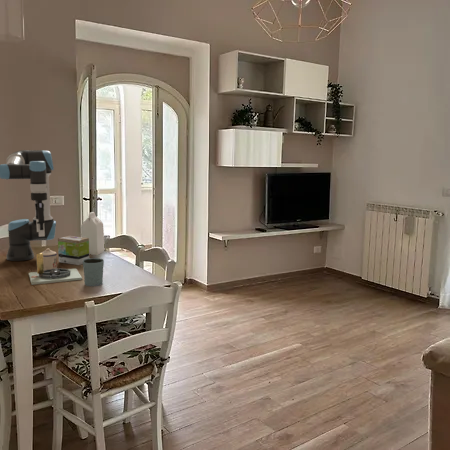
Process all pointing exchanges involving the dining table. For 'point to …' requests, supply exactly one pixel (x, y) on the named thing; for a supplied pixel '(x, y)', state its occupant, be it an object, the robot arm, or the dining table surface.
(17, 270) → the dining table surface
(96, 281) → the grey blue cup
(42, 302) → the dining table surface
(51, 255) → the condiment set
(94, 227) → the milk
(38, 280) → the board
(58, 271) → the handwheel
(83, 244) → the tea box
